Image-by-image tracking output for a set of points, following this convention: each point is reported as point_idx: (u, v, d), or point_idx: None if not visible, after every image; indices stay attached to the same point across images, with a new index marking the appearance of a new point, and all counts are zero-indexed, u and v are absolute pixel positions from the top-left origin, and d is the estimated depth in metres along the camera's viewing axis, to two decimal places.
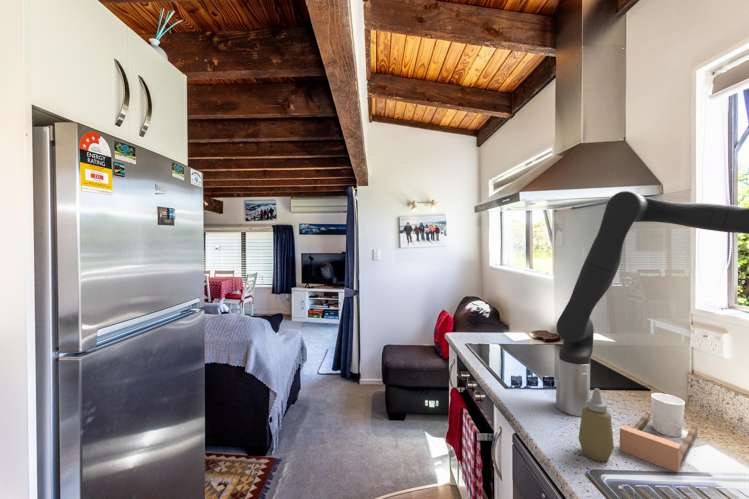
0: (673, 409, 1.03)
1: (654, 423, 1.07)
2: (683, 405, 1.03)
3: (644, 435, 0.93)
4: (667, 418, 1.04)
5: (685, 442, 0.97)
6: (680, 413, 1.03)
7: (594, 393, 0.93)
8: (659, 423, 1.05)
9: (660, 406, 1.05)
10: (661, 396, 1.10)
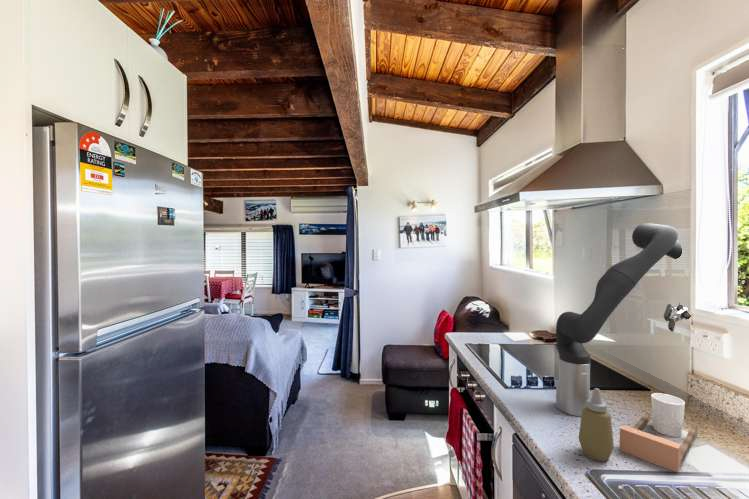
0: (673, 409, 1.03)
1: (654, 423, 1.07)
2: (683, 405, 1.03)
3: (644, 435, 0.93)
4: (667, 418, 1.04)
5: (685, 442, 0.97)
6: (680, 413, 1.03)
7: (594, 393, 0.93)
8: (659, 423, 1.05)
9: (660, 406, 1.05)
10: (661, 396, 1.10)
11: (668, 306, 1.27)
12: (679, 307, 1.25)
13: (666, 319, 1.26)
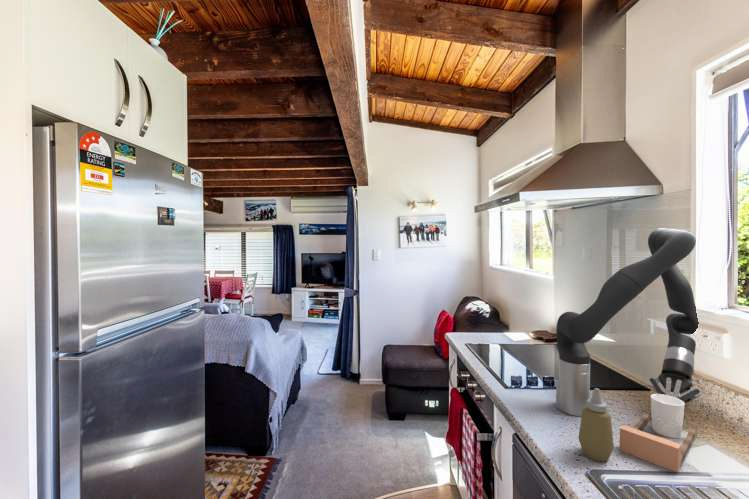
0: (673, 410, 1.02)
1: (653, 424, 1.06)
2: (683, 406, 1.02)
3: (644, 435, 0.93)
4: (666, 419, 1.03)
5: (685, 442, 0.97)
6: (679, 414, 1.02)
7: (594, 393, 0.93)
8: (658, 424, 1.05)
9: (660, 407, 1.04)
10: (661, 397, 1.09)
11: (652, 381, 1.16)
12: (661, 377, 1.15)
13: None
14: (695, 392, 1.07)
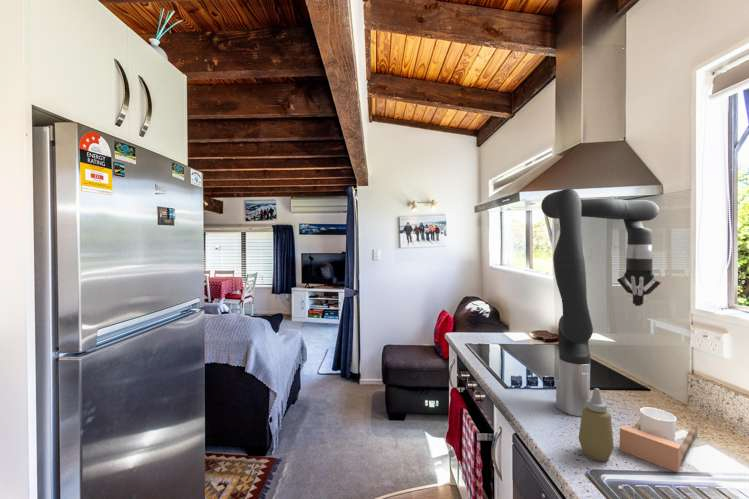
0: (664, 426, 0.93)
1: None
2: (675, 421, 0.93)
3: (644, 435, 0.93)
4: (658, 436, 0.94)
5: (685, 442, 0.97)
6: (671, 431, 0.93)
7: (594, 393, 0.93)
8: None
9: (650, 423, 0.95)
10: (651, 410, 1.00)
11: (619, 281, 1.28)
12: (627, 276, 1.26)
13: None
14: (656, 284, 1.20)
